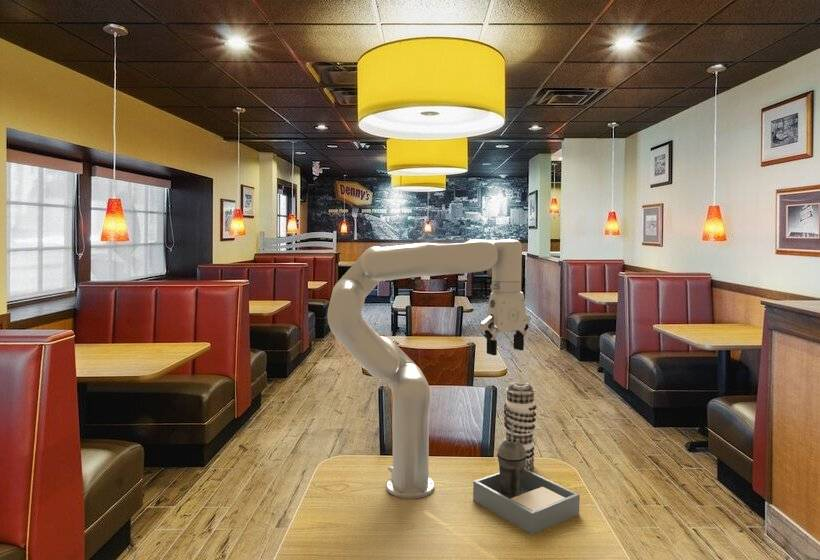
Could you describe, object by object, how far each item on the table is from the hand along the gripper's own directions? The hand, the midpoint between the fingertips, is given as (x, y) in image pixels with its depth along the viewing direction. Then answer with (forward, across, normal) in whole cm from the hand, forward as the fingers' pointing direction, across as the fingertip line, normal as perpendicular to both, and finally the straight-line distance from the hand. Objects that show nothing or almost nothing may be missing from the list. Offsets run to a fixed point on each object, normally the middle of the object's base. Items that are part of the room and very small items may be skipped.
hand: (505, 351), depth 158 cm
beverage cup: (+36, -6, -9) cm, 37 cm away
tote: (+36, -6, -14) cm, 39 cm away
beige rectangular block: (+35, -6, -19) cm, 40 cm away
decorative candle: (+36, +10, +4) cm, 38 cm away
